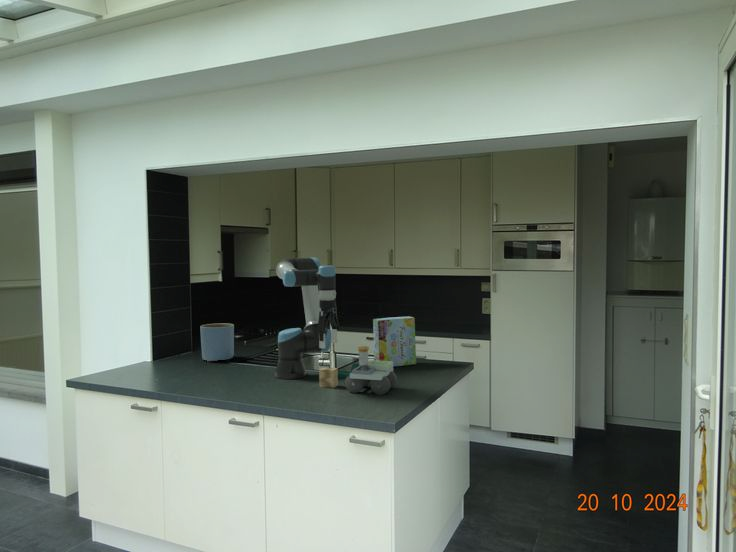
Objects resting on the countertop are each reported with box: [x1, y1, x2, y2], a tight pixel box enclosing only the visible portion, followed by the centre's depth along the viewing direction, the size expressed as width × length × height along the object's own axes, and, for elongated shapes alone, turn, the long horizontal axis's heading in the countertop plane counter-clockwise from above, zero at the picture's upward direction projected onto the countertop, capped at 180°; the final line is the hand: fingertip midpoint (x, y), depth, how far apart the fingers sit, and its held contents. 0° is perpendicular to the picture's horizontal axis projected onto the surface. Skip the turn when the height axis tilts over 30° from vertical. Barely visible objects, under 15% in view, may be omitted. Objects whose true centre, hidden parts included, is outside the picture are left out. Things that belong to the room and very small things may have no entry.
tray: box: [368, 359, 394, 372], centre depth 244 cm, size 11×10×2 cm
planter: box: [199, 322, 235, 362], centre depth 319 cm, size 19×19×20 cm
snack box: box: [372, 315, 417, 368], centre depth 294 cm, size 22×9×26 cm, turn 111°
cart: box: [344, 367, 398, 396], centre depth 241 cm, size 20×18×10 cm
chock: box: [318, 367, 339, 389], centre depth 251 cm, size 7×5×8 cm
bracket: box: [338, 362, 359, 379], centre depth 268 cm, size 18×7×8 cm, turn 61°
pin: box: [357, 345, 370, 371], centre depth 237 cm, size 5×5×11 cm
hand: (328, 345), depth 250 cm, fingers open, 13 cm apart
